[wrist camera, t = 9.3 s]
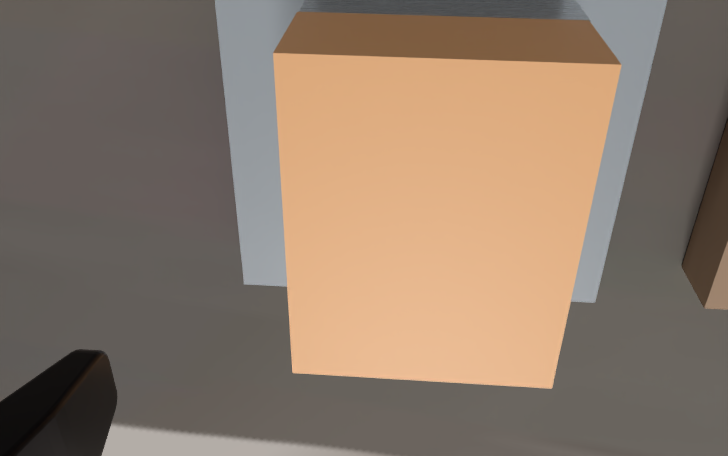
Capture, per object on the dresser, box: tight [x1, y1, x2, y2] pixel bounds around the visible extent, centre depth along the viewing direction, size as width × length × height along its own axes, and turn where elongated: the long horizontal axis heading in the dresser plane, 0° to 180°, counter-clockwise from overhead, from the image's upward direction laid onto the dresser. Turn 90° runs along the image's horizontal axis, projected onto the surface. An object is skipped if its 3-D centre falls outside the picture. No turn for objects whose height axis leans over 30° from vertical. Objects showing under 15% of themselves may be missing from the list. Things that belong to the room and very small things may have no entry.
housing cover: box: [273, 12, 622, 388], centre depth 14 cm, size 7×6×2 cm
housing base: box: [299, 0, 591, 21], centre depth 16 cm, size 7×6×2 cm
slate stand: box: [215, 0, 667, 303], centre depth 18 cm, size 10×10×2 cm
